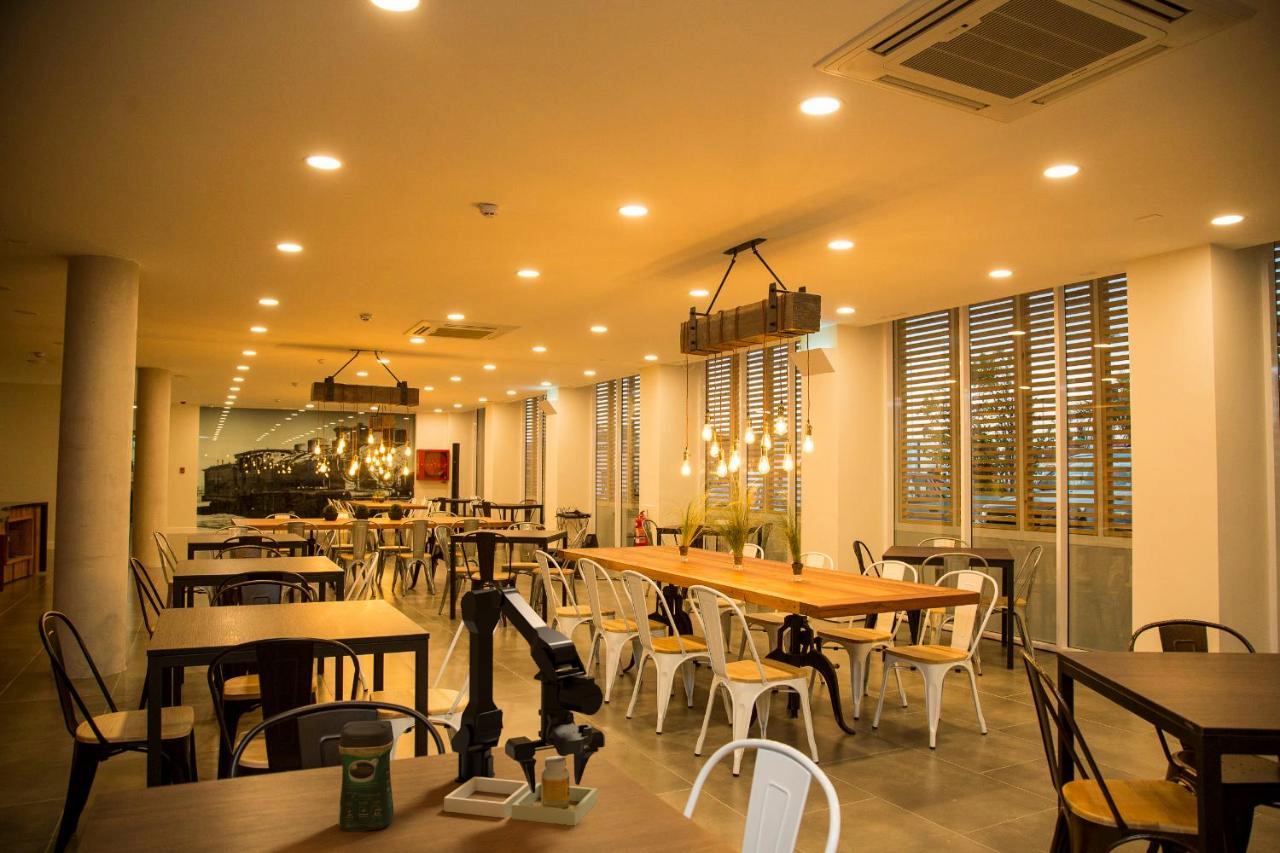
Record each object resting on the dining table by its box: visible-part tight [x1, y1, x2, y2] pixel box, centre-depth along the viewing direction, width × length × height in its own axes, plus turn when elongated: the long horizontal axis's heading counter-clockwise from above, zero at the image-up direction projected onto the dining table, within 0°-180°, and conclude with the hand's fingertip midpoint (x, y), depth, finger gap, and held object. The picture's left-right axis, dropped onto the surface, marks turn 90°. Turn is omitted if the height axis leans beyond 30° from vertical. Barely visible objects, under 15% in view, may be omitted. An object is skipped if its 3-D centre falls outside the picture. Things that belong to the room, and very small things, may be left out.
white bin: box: [443, 777, 530, 819], centre depth 175 cm, size 13×13×2 cm
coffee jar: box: [337, 720, 395, 832], centre depth 164 cm, size 10×8×19 cm
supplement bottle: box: [540, 755, 570, 809], centre depth 171 cm, size 5×5×10 cm
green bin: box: [511, 782, 598, 826], centre depth 171 cm, size 13×13×2 cm
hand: (555, 788), depth 171 cm, fingers open, 9 cm apart
